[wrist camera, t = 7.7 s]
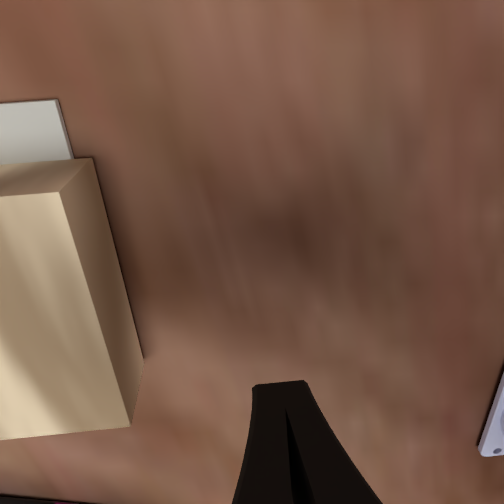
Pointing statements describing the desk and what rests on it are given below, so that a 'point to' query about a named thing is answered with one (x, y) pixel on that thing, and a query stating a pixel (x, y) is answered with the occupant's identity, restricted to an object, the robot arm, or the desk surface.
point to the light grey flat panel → (33, 132)
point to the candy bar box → (27, 501)
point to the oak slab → (62, 306)
